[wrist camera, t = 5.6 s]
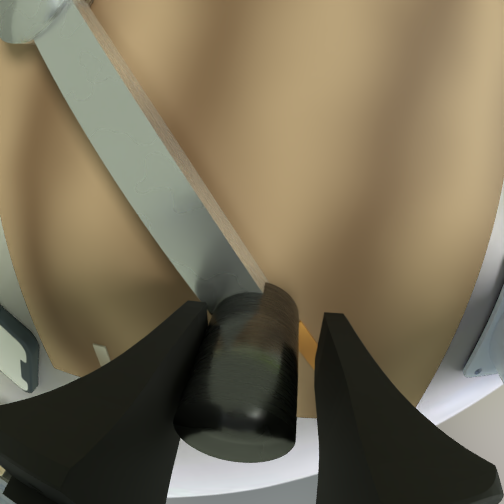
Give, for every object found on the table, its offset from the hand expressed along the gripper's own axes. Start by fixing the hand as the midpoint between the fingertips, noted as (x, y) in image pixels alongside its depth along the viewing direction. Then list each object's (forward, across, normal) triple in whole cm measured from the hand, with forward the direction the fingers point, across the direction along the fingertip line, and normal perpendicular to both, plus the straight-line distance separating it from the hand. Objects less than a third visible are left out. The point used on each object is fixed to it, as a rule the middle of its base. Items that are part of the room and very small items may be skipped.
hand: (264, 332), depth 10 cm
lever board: (+4, +2, -3) cm, 5 cm away
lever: (+2, +5, -6) cm, 8 cm away
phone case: (+4, +25, +7) cm, 26 cm away
